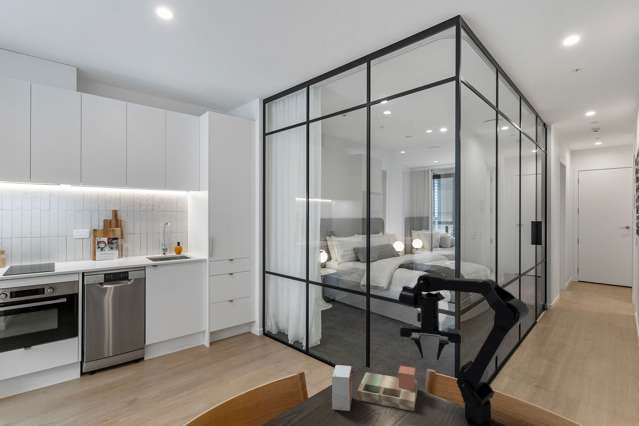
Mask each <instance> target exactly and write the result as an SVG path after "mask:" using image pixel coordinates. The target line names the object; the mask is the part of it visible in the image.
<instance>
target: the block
mask: <svg viewBox="0 0 639 426" xmlns="http://www.w3.org/2000/svg"><path fill="white" fill-rule="evenodd" d="M398 378H399V388H404V389H410V390H414V389H415V380H416V367H410V366H405V365H404V366H403V365H400V366H399V369H398Z"/></svg>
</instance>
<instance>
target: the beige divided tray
mask: <svg viewBox="0 0 639 426" xmlns="http://www.w3.org/2000/svg"><path fill="white" fill-rule="evenodd" d="M356 396H357V397H356V399H357V401H361V402H366V403H367V402H368V403H372V404H376V405H383V406H387V407H392V408H397V409H402V410H407V411H412V412H414V411H415V409H416V400H417V396H418V380H416V379H415V389H414V390H410V389H404V388H399V376H397V377H396V376H391V375H384V374H379V373H373V372H365V373H364V376H363V378H362V380H361V382H360V384H359V386H358V389H357V392H356Z"/></svg>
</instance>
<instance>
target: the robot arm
mask: <svg viewBox="0 0 639 426" xmlns="http://www.w3.org/2000/svg"><path fill="white" fill-rule="evenodd" d="M440 291H443V292H444V291H450V292H459V293H468V294H469V293H470V294H479V295H480V294H481V296H483V298H484V299H485V301H486V302H487V304H488V305H489V307H490V308H491V309H492V310H493V311H494V317H493V325H492V328H491V330H490V332H489V333H488V335H487V336H486V338H485V341H484V342H483V344H482V345H481V347H480V349H479V351H478V353H477V354H476V356H475V358H474V359H473V360H471V359H470V360H469V361H467V362H466V363H465V364H462V365H461V367H460V368H459V369H460V370H459V373H457V374H456V375H455V377H456V378H457V379H456V385H457V387H458V389H459V391H460V394H461V397H462V400H463V409H464V410H463V411H464V413H463V414H464V419H466V425H468V426H471V425H472V426H493V425H492V405H491V399H493V398H494V395H495V391H494V390H493V388H492V387H491V385H490V384H489V383H488V382H487V381H488V378H489V370H490V368H491V366H492V364H493V363H494V361H495V359H496V358H497V356H498V354H499V352H500V351H501V349H502V347H503V346H504V344H505V342H506V341H507V340H508V337H509V336H510V334H511V333H512V332H513V331H514V330H515V329H516V328H517V327H518V326H519V325H520V324H521V323H522V322H523V321H524V320H525V319H526V318H527V317H528V316H529V308H528V306H527V304H526V303H525V302H524V301H523V300H521V299H519V298H516V296H515V295H513V294H512V293H511V292H510V291H508V290H507V289H505V288H504V287H502V286H500V284H498V283H497V282H496V281H495V280H493V279H490V278H486V279H481V278H468V277H467V278H465V277H450V276H447V275H444V274H441V273H438V272H428V273H424V274H420V275H419V276H418V277H417V281H416V283H415V284H414V286H413V287H412V286H409V285H403V286H402V288H401V290H400V292H399V296H398V302H399V304H400V305H402V306H404V307H408V308H413V309H418V308H419V307H420V310H419V311H420V312H417V314H416V315H417V316H416V318H417V320H416V321H417V323H420V328H418V327H414V324H413V323H405V322H404V323H402V324H401V325H400V329H399V336H400V337H401V338H409V339H410V340H411V341H413V342H414V343H415V345H416V346H417V348H418V352H419V354H420V356H421V358H422V359H424V346H423V338H422V336H430V337H438V344H437V351H436V361H439V360H440V356H441V354H442V351H443V350H444V348H445V346H446V345H450V343H452V344H458V345H459V344H462V334H461V330H460V329H458V328H451V327H447V331H446V330H440V318H439V317H440V314H439V313H440V312H439V308H440V307H439V306H440V305H439V302H440V301H444V300H445V299H446V297H445V296H444V295H443V294H442V293H441V292H440ZM434 292H435V293H434Z"/></svg>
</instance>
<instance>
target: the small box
mask: <svg viewBox="0 0 639 426" xmlns="http://www.w3.org/2000/svg"><path fill="white" fill-rule="evenodd" d="M333 369H334V370H333V373H332V375H331V384H332V385H331V392H332V393H331V395H332V398H331V402H332V407H331V408H332V410H336V411H346V412H350V411H351V405H352V401H353V400H352V399H353V379H352V378H353V371H352V369H353V366H352V365H351V366H350V365H341V364H336V365H335V367H334V368H333Z"/></svg>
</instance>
